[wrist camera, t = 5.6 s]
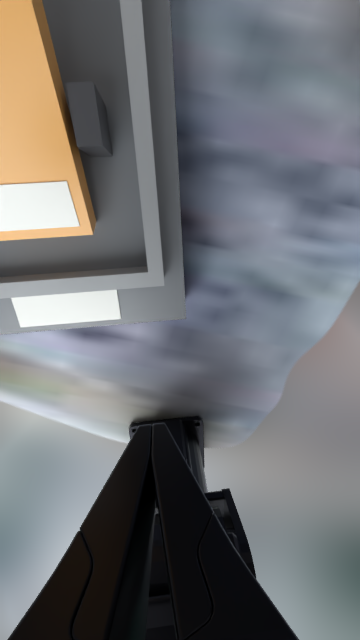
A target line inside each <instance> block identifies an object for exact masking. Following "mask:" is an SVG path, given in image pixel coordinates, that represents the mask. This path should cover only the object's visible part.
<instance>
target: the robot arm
mask: <svg viewBox="0 0 360 640" xmlns="http://www.w3.org/2000/svg"><path fill="white" fill-rule="evenodd" d="M196 422H198V423H196ZM135 429H136V430H135ZM129 434H130V442H129V443H128V445H127V447H126V449H125V450H124V452H123V454H122V456H121V457H120V459H119V461H118V463H117V464H116V466H115V468H114V470H113V471H112V473H111V475H110V477H109V479H108V480H107V482H106V483H105V485H104V487H103V489H102V490H101V492H100V494H99V496H98V497H97V499H96V501H95V503H94V504H93V506H92V508H91V510H90V511H89V513H88V515H87V517H86V518H85V520H84V522H83V523H82V525H81V527H80V531H78V532H77V534H76V535H75V537H74V539H73V541H72V542H71V544H70V546H69V548H68V549H67V551H66V553H65V554H64V556H63V557H62V559H61V561H60V562H59V564H58V566H57V567H56V569H55V571H54V572H53V574H52V575H51V577H50V578H49V580H48V581H47V583H46V584H45V586H44V587H43V589H42V590H41V592H40V593H39V595H38V596H37V598H36V599H35V601H34V602H33V604H32V605H31V607H30V608H29V609H28V611H27V612H26V614H25V615H24V617H23V618H22V619H21V621H20V622H19V624H18V625H17V627H16V628H15V630H14V631H13V633H12V634H11V635H10V637H9V638H8V640H299V639H298V637H297V636H296V635H295V633H294V632H293V631H292V629H291V628H290V627H289V625H288V624H287V622H286V621H285V619H284V618H283V617H282V615H281V614H280V612H279V611H278V610H277V608H276V607H275V605H274V604H273V602H272V601H271V600H270V598H269V597H268V596H267V594H266V593H265V591H264V590H263V588H262V587H261V586H260V584H259V583H258V581H257V580H256V574H255V569H254V564H253V559H252V555H251V551H250V547H249V544H248V540H247V537H246V535H245V532H244V529H243V526H242V523H241V521H240V518H239V515H238V512H237V509H236V506H235V503H234V501H233V498H232V495H231V492H230V489H222V491H215V492H208V490H207V485H206V479H205V474H204V437H203V421H202V418H201V417H187V418H178V419H168V420H159V421H149V422H140V423H133V424H131V425H130V427H129Z"/></svg>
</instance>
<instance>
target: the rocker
mask: <svg viewBox="0 0 360 640" xmlns="http://www.w3.org/2000/svg"><path fill="white" fill-rule="evenodd" d="M95 226H96V218H95V214H94V210H93V206H92V202H91V198H90V194H89V190H88V186H87V182H86V177H85V173H84V169H83V165H82V161H81V157H80V153H79V149H78V147H77V144H76V138H75V133H74V129H73V125H72V120H71V116H70V112H69V108H68V104H67V100H66V96H65V92H64V88H63V84H62V80H61V76H60V72H59V67H58V63H57V59H56V55H55V51H54V47H53V43H52V39H51V35H50V31H49V27H48V23H47V19H46V15H45V10H44V6H43V2H42V0H0V241H6V240H21V239H36V238H51V237H66V236H82V235H93V233H94V230H95Z"/></svg>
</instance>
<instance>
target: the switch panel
mask: <svg viewBox="0 0 360 640" xmlns="http://www.w3.org/2000/svg"><path fill="white" fill-rule="evenodd" d="M42 2H43V6H44V10H45V15H46V19H47V23H48V27H49V31H50V35H51V39H52V43H53V47H54V51H55V55H56V59H57V63H58V67H59V72H60V76H61V80H62V84H63V88H64V92H65V96H66V100H67V104H68V108H69V112H70V116H71V120H72V125H73V129H74V133H75V138H76V144H77V147H78V149H79V153H80V157H81V161H82V165H83V169H84V173H85V177H86V182H87V186H88V190H89V194H90V198H91V202H92V206H93V210H94V214H95V218H96V226H95V230H94V233H93V235H82V236H66V237H51V238H36V239H21V240H6V241H0V335H2V334H14V333H26V332H37V331H49V330H61V329H73V328H84V327H96V326H108V325H120V324H132V323H143V322H155V321H167V320H179V319H186V308H185V288H184V268H183V248H182V228H181V209H180V189H179V169H178V149H177V129H176V109H175V89H174V69H173V50H172V30H171V10H170V0H42Z"/></svg>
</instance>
